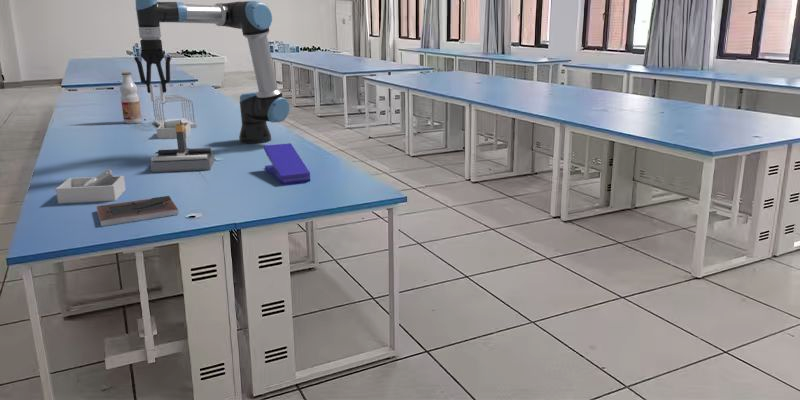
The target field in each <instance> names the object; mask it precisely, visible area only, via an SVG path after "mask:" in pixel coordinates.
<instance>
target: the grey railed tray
mask: <svg viewBox="0 0 800 400" xmlns="http://www.w3.org/2000/svg"><path fill="white" fill-rule="evenodd" d="M188 150H189V153H204V152H211V151H212V149H211V147H200V148H199V147H198V148H196V147H195V148H188ZM177 153H181V152H178V148H177V149H176V148H175V149H173V148H172V149H159V150H157V155H158V154H177ZM202 159H207V155H188V156H165V157H156V156H152V157H151V158H150V160H151V161H153V162H156V161H179V160H202Z"/></svg>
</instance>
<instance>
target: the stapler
mask: <svg viewBox="0 0 800 400" xmlns="http://www.w3.org/2000/svg"><path fill="white" fill-rule="evenodd" d="M263 150H264V151H265V155H266V157H267V158H268V159H269V162H270V163H271V164H269V165H265V166H264V169H265V170H267V171H268V172H269V173H270V174H271V175H272V176H273V177H275V178H276V179H277V180H278V181H279V182H280V183H281V184H283V185H284V186H285V185H292V184H301V183H306V182H307V183H308V182H311V172H310V170H309V169H308V167H307V166H306V164H305V163H304V161H303V159H302V158H301V157H300V155H299V154H298V152H297V150H296V149H295V148H294V146H293V145H292V143H280V144H279V143H277V144H269V145H267V144H266V145H263Z"/></svg>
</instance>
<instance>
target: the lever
mask: <svg viewBox="0 0 800 400" xmlns="http://www.w3.org/2000/svg"><path fill="white" fill-rule="evenodd" d="M175 129H176V135H177V138H176V142H177V149H178V152H182V153H185V154H186V149H187V148H188V147H187V142H186V141H187V140H186V139H187V138H185V127H184V123H183V124H177V125H176V126H175Z"/></svg>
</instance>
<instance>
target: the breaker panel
mask: <svg viewBox="0 0 800 400" xmlns="http://www.w3.org/2000/svg"><path fill="white" fill-rule="evenodd" d="M188 149H189V147H187V149H186V154H185V153H182V152H181V153H177V154H158V153H157V154H156V156H155V157H165V156H188V155H207V159H202V160H179V161H156V162H153V161H152V160H151V161H150V172H151V174H152V173H169V172H170V173H171V172H173V173H174V172H191V171H211V170H212V167H213V165H214V162H215V161H216V159H215V152H214V150H213V151H212V150H211V152H204V153H189V150H188Z"/></svg>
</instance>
